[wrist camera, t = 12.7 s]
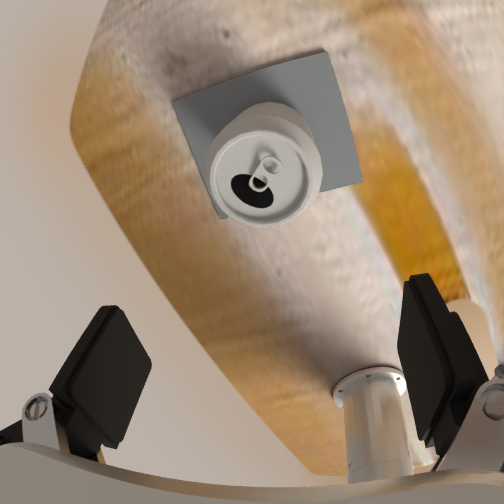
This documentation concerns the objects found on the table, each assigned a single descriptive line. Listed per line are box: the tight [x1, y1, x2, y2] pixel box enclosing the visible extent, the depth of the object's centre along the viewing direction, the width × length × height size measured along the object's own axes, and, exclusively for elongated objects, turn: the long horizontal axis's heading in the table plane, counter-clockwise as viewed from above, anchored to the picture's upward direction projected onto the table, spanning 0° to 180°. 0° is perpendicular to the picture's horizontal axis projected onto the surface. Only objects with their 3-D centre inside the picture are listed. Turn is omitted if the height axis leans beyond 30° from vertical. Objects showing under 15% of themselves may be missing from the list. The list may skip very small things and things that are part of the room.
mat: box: [172, 52, 363, 219], centre depth 29 cm, size 13×15×1 cm
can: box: [204, 102, 323, 228], centre depth 23 cm, size 8×8×12 cm
